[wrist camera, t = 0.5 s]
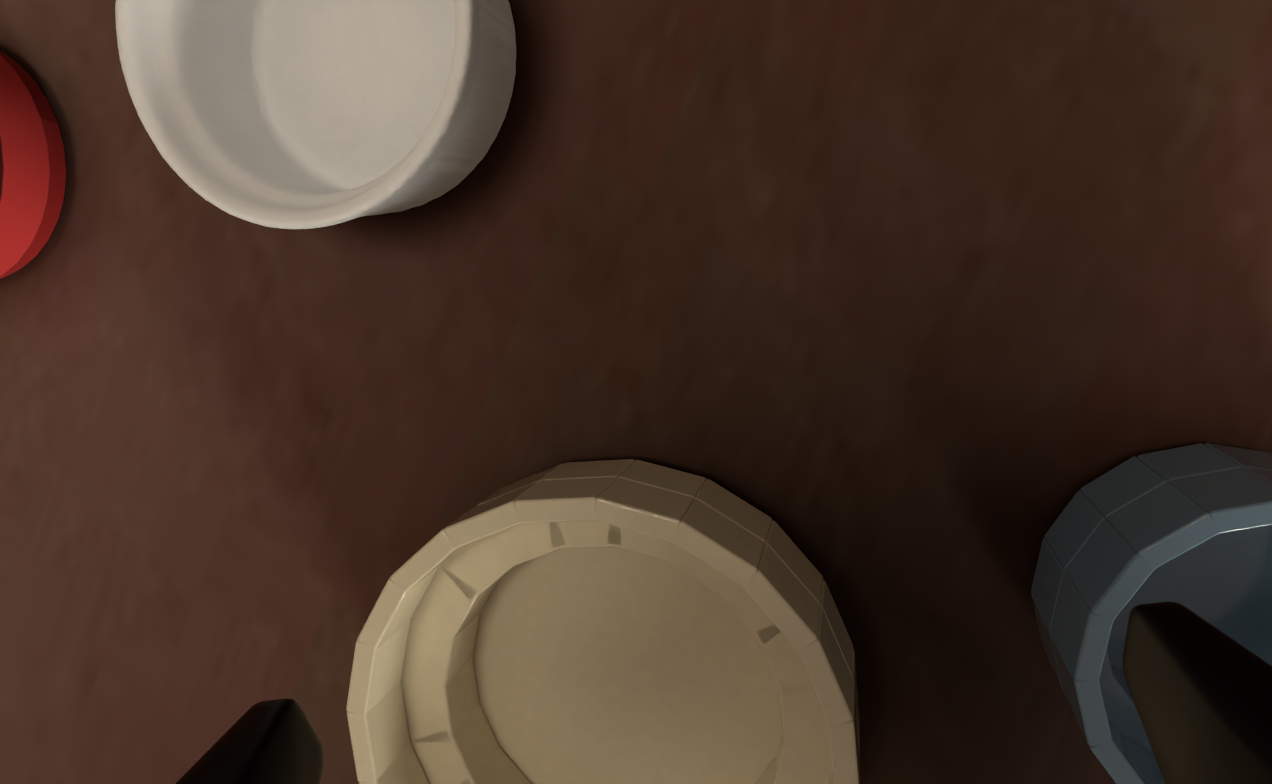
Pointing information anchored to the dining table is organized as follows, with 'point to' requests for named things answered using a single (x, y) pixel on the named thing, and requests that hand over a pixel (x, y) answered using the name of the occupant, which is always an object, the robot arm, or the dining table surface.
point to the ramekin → (319, 99)
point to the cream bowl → (606, 644)
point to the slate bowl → (1152, 578)
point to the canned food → (27, 168)
